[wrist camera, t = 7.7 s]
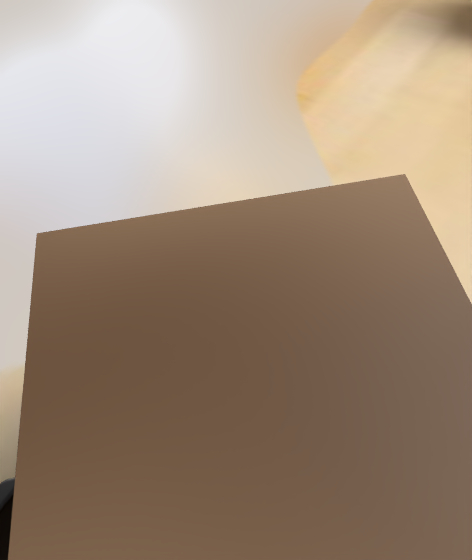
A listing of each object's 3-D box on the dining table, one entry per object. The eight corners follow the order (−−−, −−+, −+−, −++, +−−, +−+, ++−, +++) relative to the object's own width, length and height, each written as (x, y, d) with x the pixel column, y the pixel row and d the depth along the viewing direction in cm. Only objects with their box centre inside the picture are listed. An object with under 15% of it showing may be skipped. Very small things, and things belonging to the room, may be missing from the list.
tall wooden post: (318, 504, 15) (655, 663, 2) (209, 527, 15) (-16, 819, 2) (291, 393, 17) (405, 173, 4) (195, 411, 17) (36, 233, 4)
